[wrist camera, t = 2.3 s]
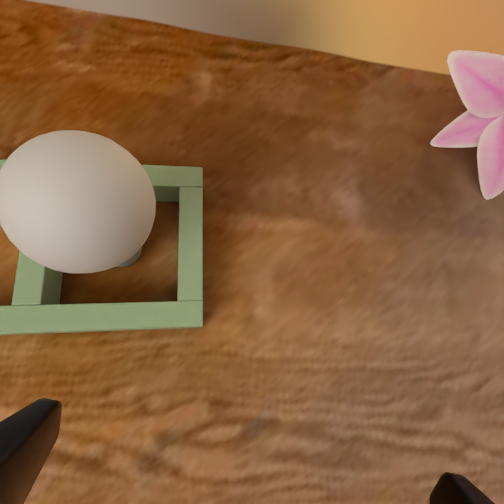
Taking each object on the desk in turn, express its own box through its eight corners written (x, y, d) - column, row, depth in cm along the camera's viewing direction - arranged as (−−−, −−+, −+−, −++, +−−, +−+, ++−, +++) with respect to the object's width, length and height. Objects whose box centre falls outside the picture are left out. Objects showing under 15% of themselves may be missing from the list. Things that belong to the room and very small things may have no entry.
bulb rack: (203, 327, 21) (203, 326, 19) (-142, 340, 18) (-194, 340, 16) (202, 184, 24) (202, 166, 21) (-98, 175, 21) (-137, 153, 18)
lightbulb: (110, 195, 23) (29, 68, 12) (187, 234, 23) (174, 143, 12) (56, 270, 21) (-93, 198, 10) (140, 313, 21) (78, 285, 10)
